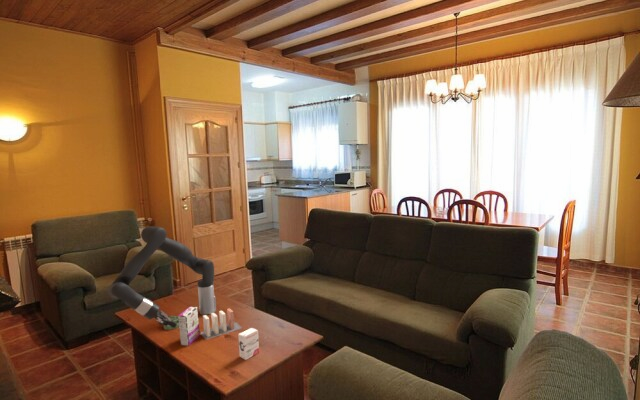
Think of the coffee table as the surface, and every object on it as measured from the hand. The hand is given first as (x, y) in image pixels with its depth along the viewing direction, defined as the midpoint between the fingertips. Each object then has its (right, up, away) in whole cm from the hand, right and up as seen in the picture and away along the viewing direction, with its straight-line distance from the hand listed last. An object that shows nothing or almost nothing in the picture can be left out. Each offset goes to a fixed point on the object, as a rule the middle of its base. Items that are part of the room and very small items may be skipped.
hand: (175, 325), depth 187 cm
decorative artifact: (-10, -8, +21) cm, 25 cm away
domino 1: (+14, -8, +9) cm, 18 cm away
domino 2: (+17, -7, +12) cm, 22 cm away
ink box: (+40, -10, -11) cm, 43 cm away
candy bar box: (+6, -9, +4) cm, 12 cm away
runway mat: (+20, -8, +14) cm, 25 cm away
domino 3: (+21, -7, +14) cm, 26 cm away
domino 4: (+25, -7, +17) cm, 30 cm away
